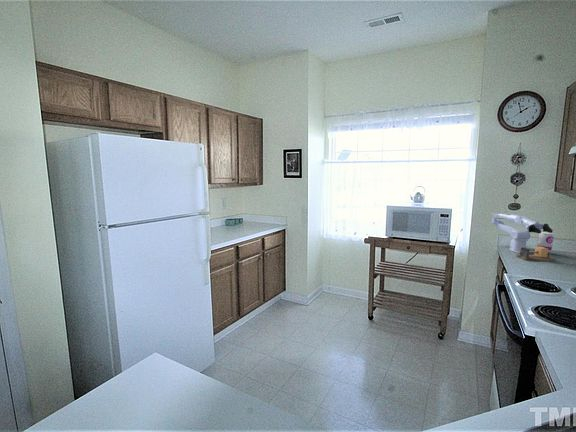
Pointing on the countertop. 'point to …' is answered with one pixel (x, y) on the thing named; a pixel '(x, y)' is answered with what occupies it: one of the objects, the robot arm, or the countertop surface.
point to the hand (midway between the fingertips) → (546, 231)
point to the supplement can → (546, 240)
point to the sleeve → (541, 251)
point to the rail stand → (533, 256)
